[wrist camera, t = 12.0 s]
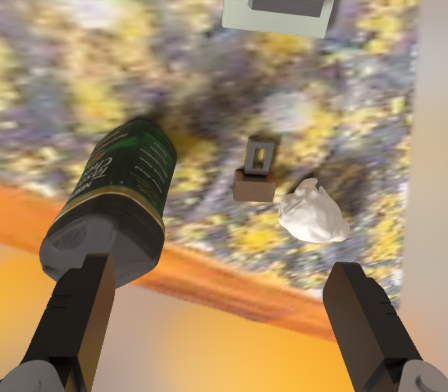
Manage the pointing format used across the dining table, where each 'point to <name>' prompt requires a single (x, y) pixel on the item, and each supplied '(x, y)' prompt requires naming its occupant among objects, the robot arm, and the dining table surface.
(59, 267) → the coffee jar
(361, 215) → the dining table surface
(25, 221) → the dining table surface
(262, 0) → the link
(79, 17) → the dining table surface
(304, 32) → the peg stand
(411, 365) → the robot arm
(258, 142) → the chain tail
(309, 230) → the white lumpy piece
